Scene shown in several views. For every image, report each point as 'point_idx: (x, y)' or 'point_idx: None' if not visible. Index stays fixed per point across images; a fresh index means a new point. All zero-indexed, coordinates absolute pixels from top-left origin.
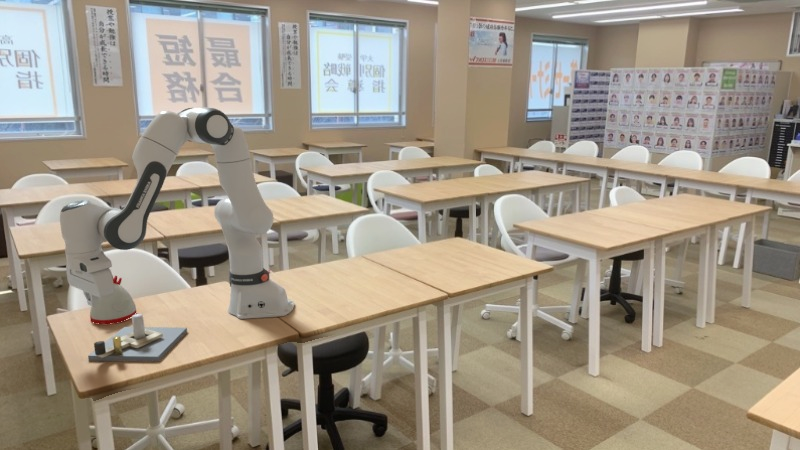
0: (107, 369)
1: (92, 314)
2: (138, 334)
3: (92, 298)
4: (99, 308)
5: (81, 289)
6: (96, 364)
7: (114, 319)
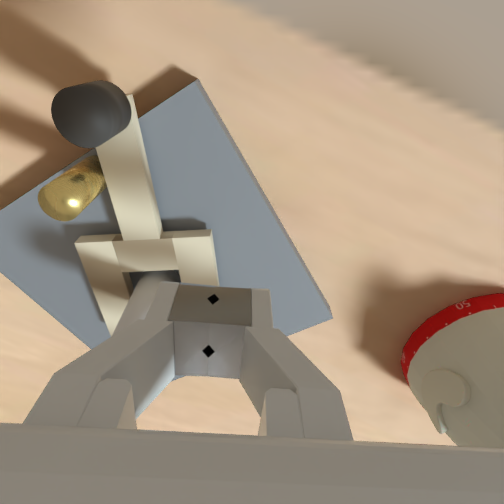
0: (35, 73)
1: None
2: (133, 293)
3: (93, 356)
4: None
5: (310, 456)
6: (128, 75)
7: (430, 335)
